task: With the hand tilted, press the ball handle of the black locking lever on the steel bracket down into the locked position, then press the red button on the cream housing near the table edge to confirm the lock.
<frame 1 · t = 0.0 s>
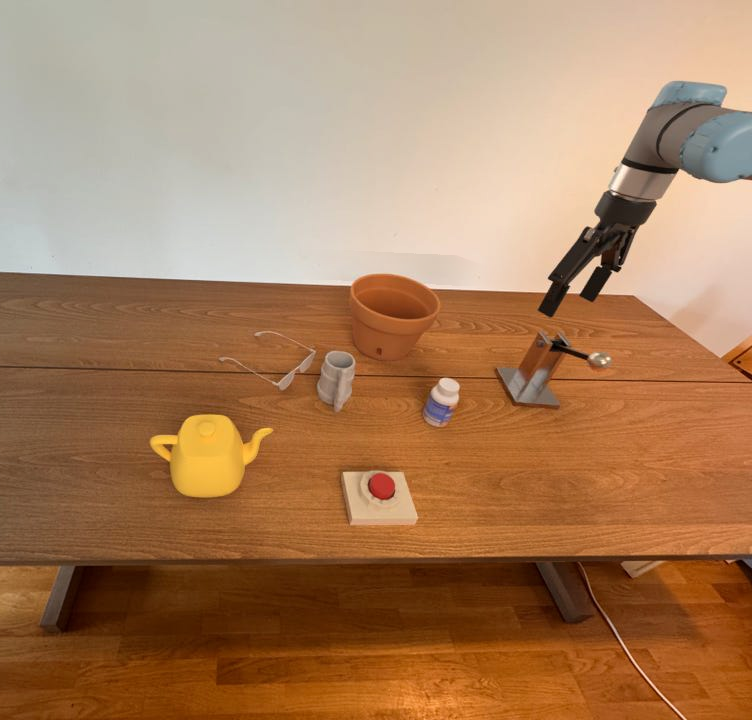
hand: (566, 306, 82), 23 cm above the table, tool pointing down, fingers open, 13 cm apart
pill bottle: (434, 418, 89), on the table
flower pot: (381, 344, 109), on the table
mug: (333, 401, 92), on the table
button box: (376, 500, 73), on the table
eyeglasses: (266, 363, 100), on the table
lever: (574, 352, 83), point 16 cm above the table, hinge at 25.0°
bracket: (524, 389, 98), on the table
button: (381, 486, 70), point 4 cm above the table, slide at 0.1 cm
teapot: (213, 474, 75), on the table
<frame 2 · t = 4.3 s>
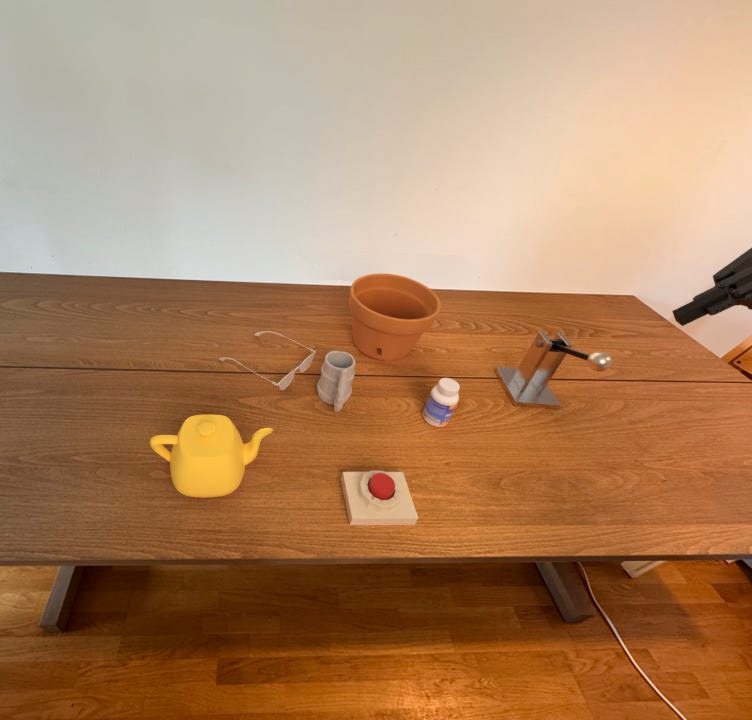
hand: (677, 318, 69), 29 cm above the table, tool tilted 45°, fingers closed
nothing on the table moved.
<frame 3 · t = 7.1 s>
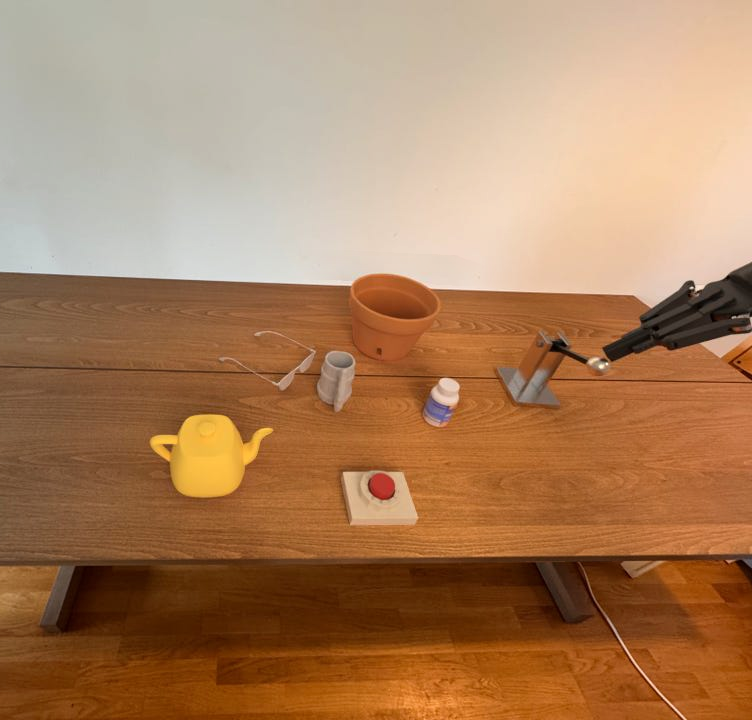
hand: (606, 354, 75), 21 cm above the table, tool tilted 45°, fingers closed
lever: (573, 355, 83), point 16 cm above the table, hinge at 21.0°, touching gripper
everything else where it was.
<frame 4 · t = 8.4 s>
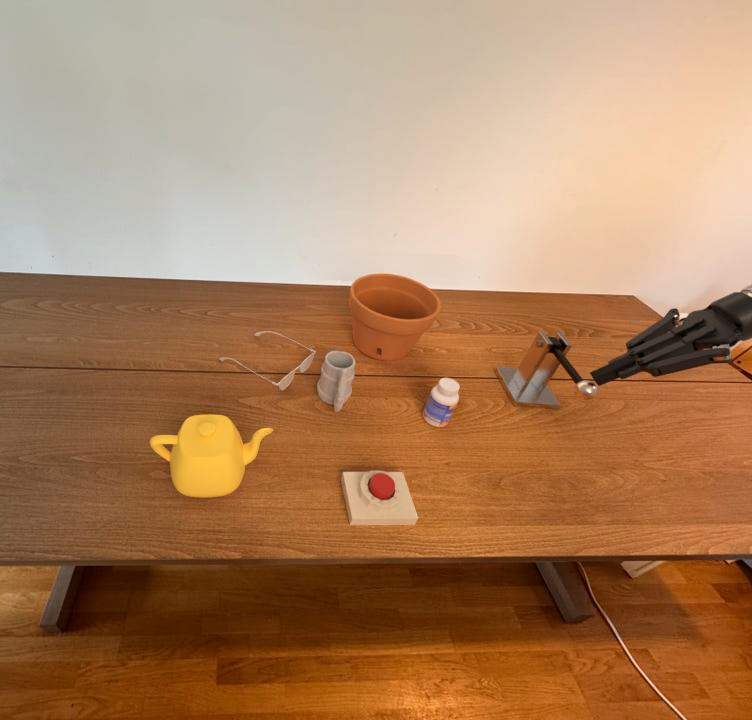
hand: (594, 379, 78), 16 cm above the table, tool tilted 45°, fingers closed
lever: (567, 366, 84), point 13 cm above the table, hinge at -0.2°, touching gripper
everything else where it was.
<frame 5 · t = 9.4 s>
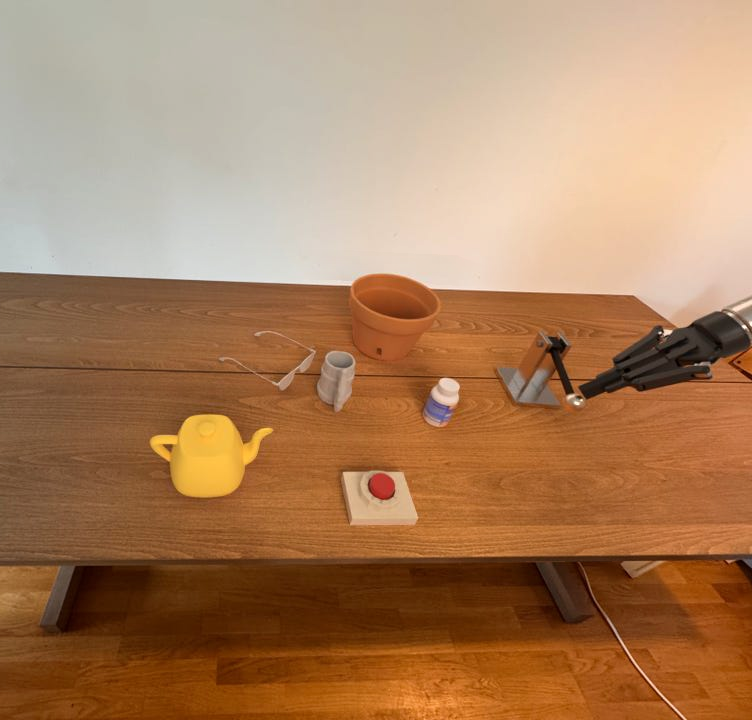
hand: (582, 393, 80), 12 cm above the table, tool tilted 45°, fingers closed
lever: (562, 373, 86), point 11 cm above the table, hinge at -16.3°, touching gripper
everything else where it was.
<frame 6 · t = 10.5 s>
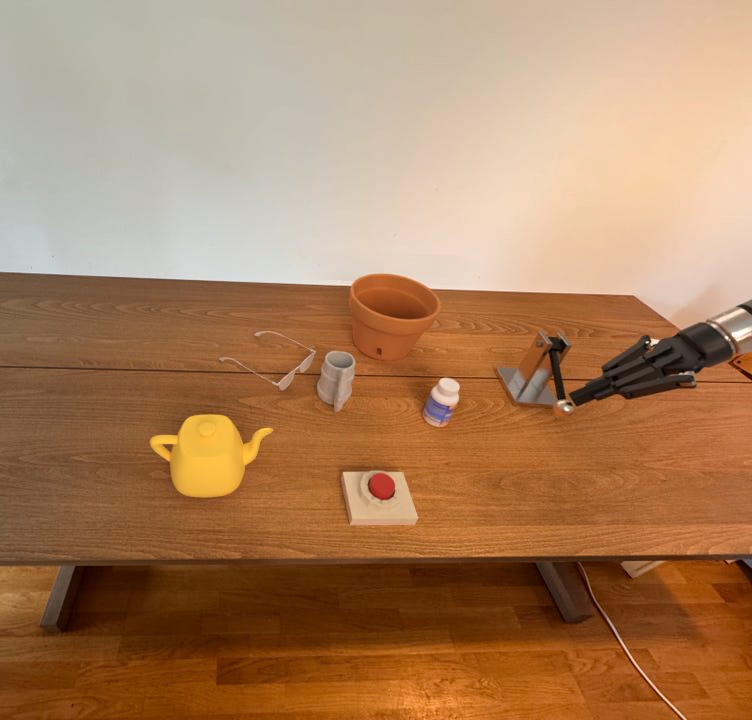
hand: (572, 400, 83), 9 cm above the table, tool tilted 45°, fingers closed
lever: (557, 376, 87), point 10 cm above the table, hinge at -28.8°, touching gripper
everything else where it was.
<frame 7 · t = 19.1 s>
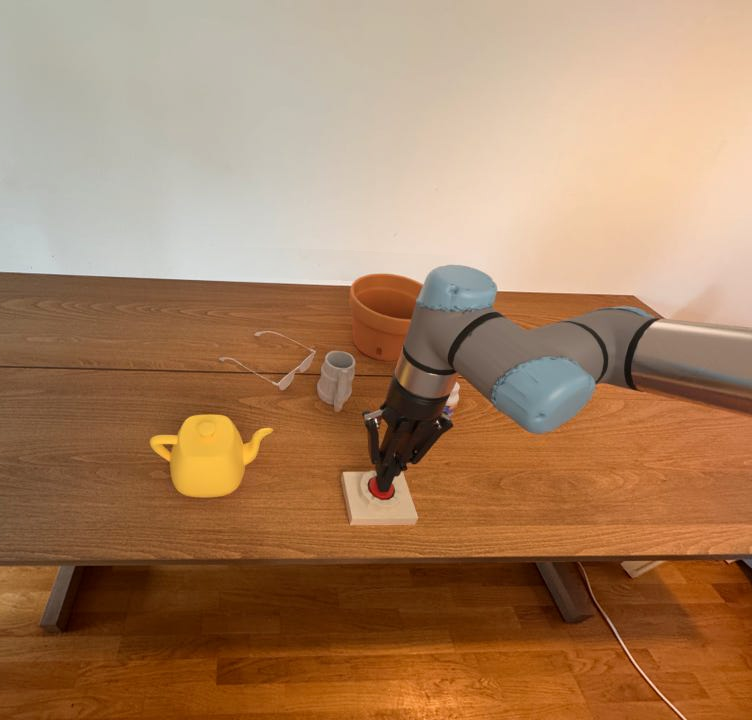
hand: (381, 484, 70), 5 cm above the table, tool pointing down, fingers closed
lever: (557, 376, 87), point 10 cm above the table, hinge at -28.8°
button: (380, 489, 71), point 4 cm above the table, slide at -0.9 cm, touching gripper
everything else where it was.
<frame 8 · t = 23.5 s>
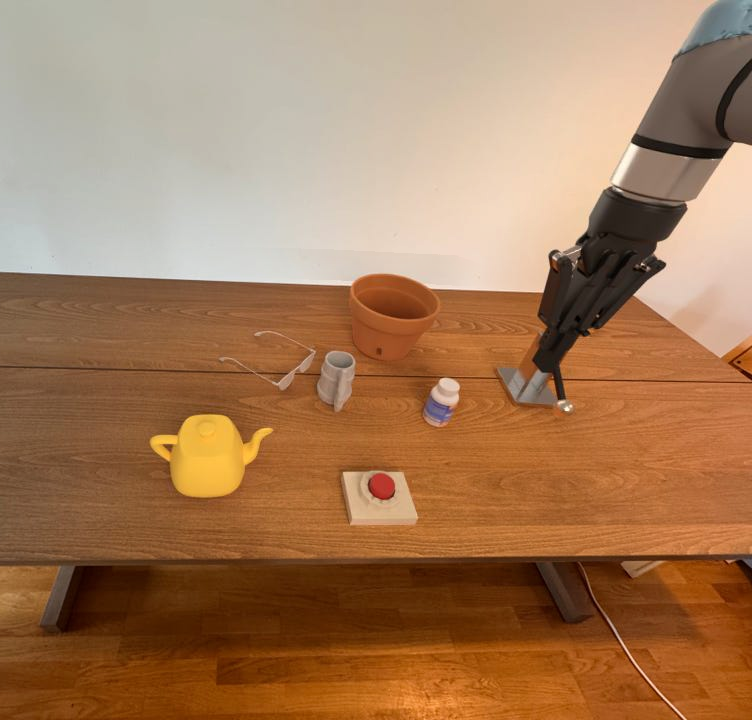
hand: (541, 366, 59), 28 cm above the table, tool pointing down, fingers closed
button: (381, 486, 70), point 4 cm above the table, slide at 0.1 cm
everything else where it was.
at the end: lever at -29° (first picture: +25°); button pushed in 1.0 cm at the most during the clip, back to where it started at the end; button slide at 0.1 cm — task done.
